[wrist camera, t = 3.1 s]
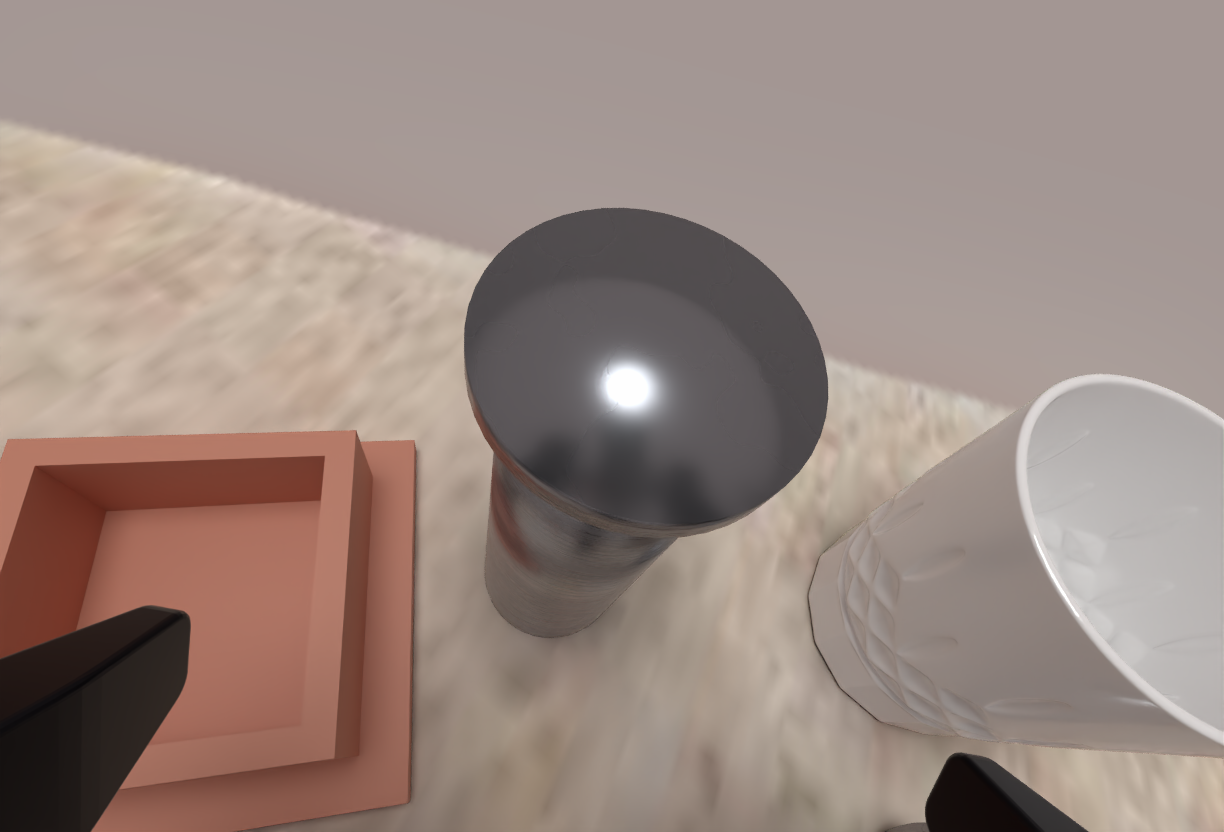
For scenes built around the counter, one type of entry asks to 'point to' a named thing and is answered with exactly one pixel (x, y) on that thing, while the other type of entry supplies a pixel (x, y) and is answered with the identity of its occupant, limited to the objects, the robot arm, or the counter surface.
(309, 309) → the counter surface
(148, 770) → the square planter with saucer
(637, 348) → the steel pin
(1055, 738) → the white cup
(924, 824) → the pin
